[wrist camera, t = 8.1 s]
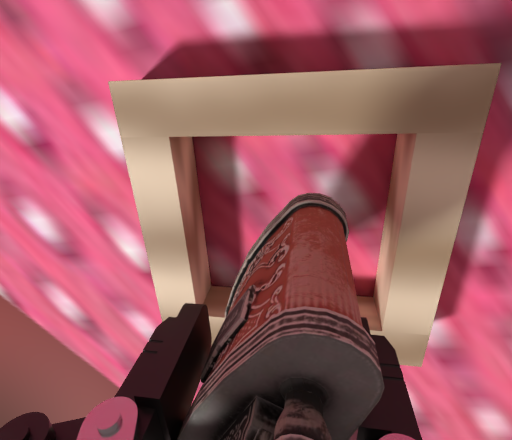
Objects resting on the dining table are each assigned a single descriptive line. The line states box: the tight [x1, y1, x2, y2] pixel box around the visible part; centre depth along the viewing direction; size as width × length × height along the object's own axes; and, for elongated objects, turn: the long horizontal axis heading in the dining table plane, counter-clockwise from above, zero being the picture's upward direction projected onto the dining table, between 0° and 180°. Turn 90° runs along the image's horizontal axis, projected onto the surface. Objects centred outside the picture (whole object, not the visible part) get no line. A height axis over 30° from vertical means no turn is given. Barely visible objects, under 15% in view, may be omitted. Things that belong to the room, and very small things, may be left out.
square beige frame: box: [108, 63, 502, 367], centre depth 18 cm, size 16×16×3 cm
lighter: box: [177, 193, 385, 440], centre depth 10 cm, size 8×3×10 cm, turn 153°
